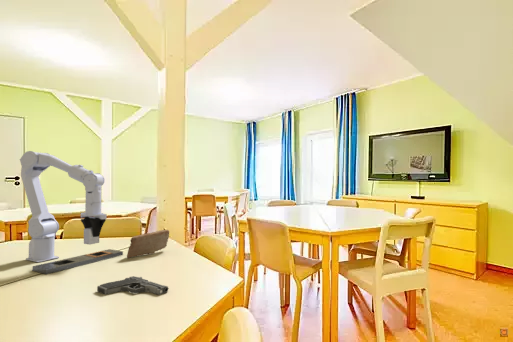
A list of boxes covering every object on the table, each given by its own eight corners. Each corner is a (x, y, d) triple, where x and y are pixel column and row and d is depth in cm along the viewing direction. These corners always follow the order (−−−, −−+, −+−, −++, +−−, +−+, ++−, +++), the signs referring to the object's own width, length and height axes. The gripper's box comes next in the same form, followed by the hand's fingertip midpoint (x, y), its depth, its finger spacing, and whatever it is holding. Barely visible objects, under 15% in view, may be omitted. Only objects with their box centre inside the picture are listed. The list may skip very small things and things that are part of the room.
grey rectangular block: (83, 243, 119) (83, 228, 119) (93, 241, 122) (93, 226, 122) (89, 244, 117) (89, 228, 117) (99, 242, 120) (99, 227, 120)
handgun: (131, 298, 75) (170, 284, 85) (97, 284, 85) (135, 273, 95) (131, 308, 75) (170, 292, 85) (97, 293, 85) (135, 281, 95)
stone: (125, 258, 123) (129, 261, 120) (125, 236, 122) (129, 238, 119) (166, 247, 136) (170, 250, 133) (166, 227, 135) (170, 230, 132)
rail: (32, 270, 105) (32, 265, 105) (109, 252, 131) (109, 248, 131) (45, 274, 101) (46, 269, 101) (122, 254, 127) (122, 250, 127)
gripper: (73, 202, 120) (72, 236, 120) (94, 203, 113) (94, 239, 113) (90, 201, 127) (89, 233, 126) (111, 202, 120) (111, 236, 119)
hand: (93, 236), depth 120 cm, fingers closed on grey rectangular block, 4 cm apart
